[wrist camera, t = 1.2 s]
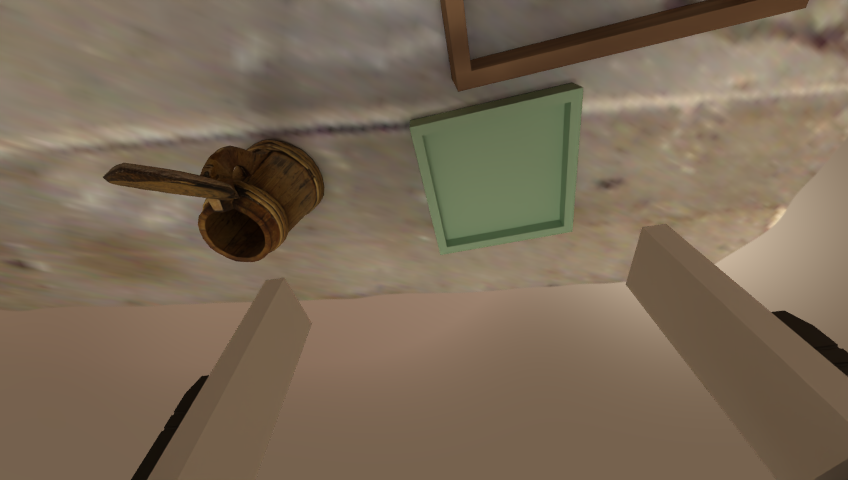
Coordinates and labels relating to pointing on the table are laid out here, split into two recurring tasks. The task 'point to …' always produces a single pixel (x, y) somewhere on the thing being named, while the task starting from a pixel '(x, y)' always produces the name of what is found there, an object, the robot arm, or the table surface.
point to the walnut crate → (595, 38)
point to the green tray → (501, 168)
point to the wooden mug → (240, 195)
